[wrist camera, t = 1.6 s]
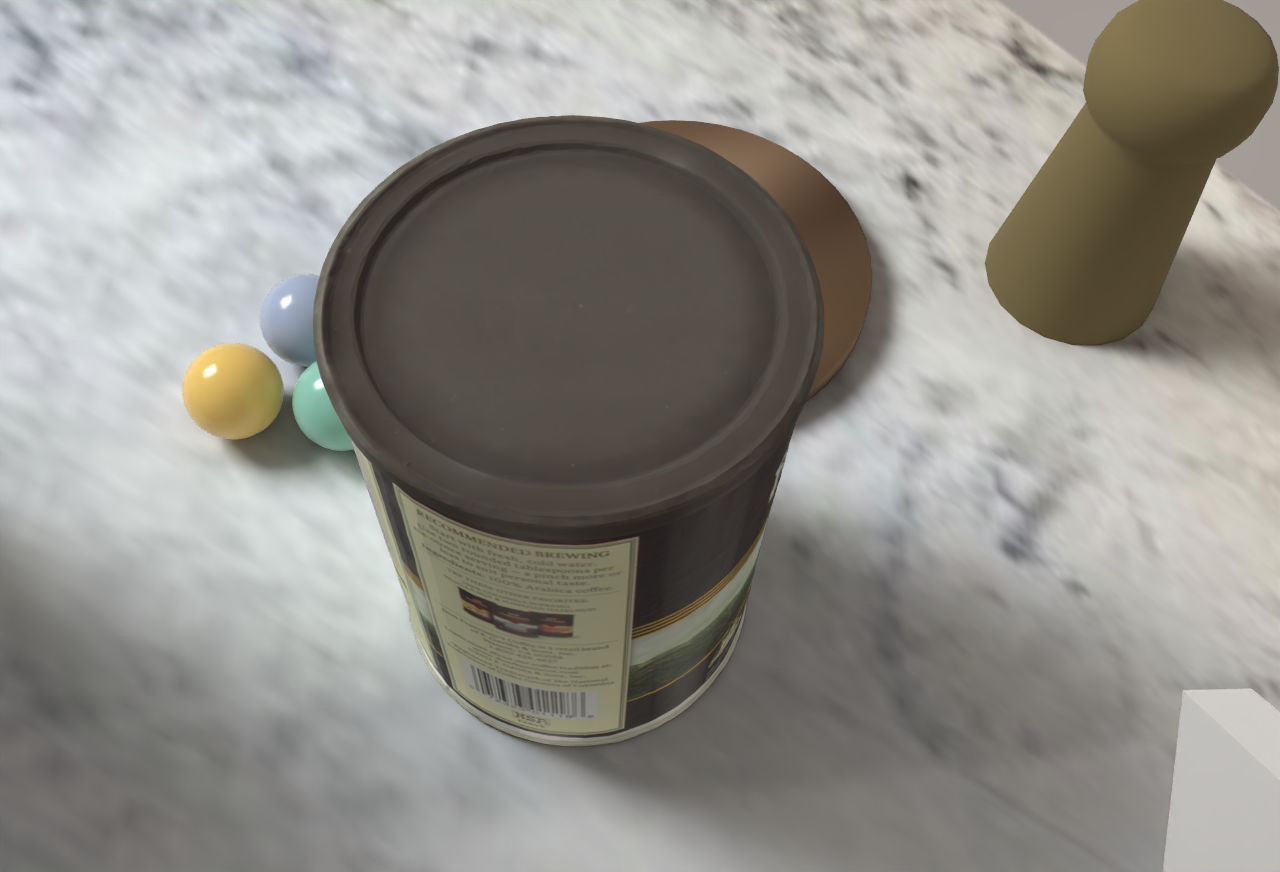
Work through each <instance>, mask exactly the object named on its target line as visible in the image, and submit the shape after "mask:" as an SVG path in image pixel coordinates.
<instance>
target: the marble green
mask: <svg viewBox="0 0 1280 872" xmlns="http://www.w3.org/2000/svg"><path fill="white" fill-rule="evenodd" d="M292 406H293V412H294V416H295V419H296V422H297V424H298V426H299V427H300V429H301V430H302V432H303V433H304V434H305V435H306V436H307V437H308V438H309V439H310V440H312V441H313V442H314V443H316V444H318V445H319V446H322V447H324V448H327V449H331V450H336V451H349V450H354V448H353V445H352V442H351V439H350V436H349V435H348V434H347V432H346V430H345V428H344V426H343V424H342V422H341V420H340V419H339V417H338V415H337V413H336V412H335V410H334V408H333V406H332V404H331V401H330V399H329V397H328V394H327V392H326V390H325V387H324V385H323V382H322V380H321V376H320V373H319V369H318V366H317V361H316V362H314V363H313V364H311V365H310V366H309V367H308V368H307V369H306V370H305V371H304V372H303V373H302V374H301V376H300V377H299V379H298V381H297V383H296V385H295V388H294V392H293V398H292Z"/></svg>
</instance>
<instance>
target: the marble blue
mask: <svg viewBox="0 0 1280 872" xmlns="http://www.w3.org/2000/svg"><path fill="white" fill-rule="evenodd" d="M319 277H320V276H319V275H315V274H299V275H294V276H291V277H288V278H286V279H284V280H282V281H281V282H279V283H278V284H277V285H275V286H274V287H273V288H272V289H271V290H270V292H269V293H268V294H267V296H266V298H265V300H264V302H263V305H262V308H261V313H260V326H261V330H262V334H263V337H264V339H265V341H266V343H267V344H268V346H269V347H270V349H271V350H272V351H273V352H274V353H275V354H276V355H277V356H279V357H280V358H281V359H283V360H285V361H286V362H289V363H291V364H294V365H297V366H302V367H309V366H310V365H311V364H313V363H314V362H316V355H315V350H314V343H313V310H314V299H315V295H316V289H317V284H318V281H319Z"/></svg>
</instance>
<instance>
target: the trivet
mask: <svg viewBox="0 0 1280 872" xmlns="http://www.w3.org/2000/svg"><path fill="white" fill-rule="evenodd" d="M640 124H644V125H648V126H651V127H655V128H657V129H660V130H664V131H667V132H671V133H674V134H676V135H679V136H681V137H684V138H686V139H689V140H691V141H693V142H696V143H698V144H701V145H703V146H705V147H707V148H708V149H710V150H712V151H714V152H715V153H717V154H719V155H720V156H722V157H723V158H725V159H726V160H728V161H730V162H731V163H733V164H734V165H736V166H737V167H739V168H740V169H742V170H743V171H745V172H746V173H747V174H748V175H750V176H751V177H752V178H753V179H754V180H756V181H757V182H758V183H759V184H760V185H761V186H763V187H764V188H765V189H766V190H767V192H768V193H769V194H770V195H771V196H772V197H773V198H774V199H775V200H776V201H777V203H778V204H779V205H780V206H781V207H782V208H783V210H784V211H785V212H786V213H787V215H788V216H789V217H790V219H791V220H792V221H793V223H794V224H795V226H796V228H797V230H798V232H799V234H800V236H801V237H802V239H803V241H804V242H805V244H806V246H807V248H808V251H809V253H810V256H811V259H812V261H813V264H814V267H815V270H816V273H817V276H818V279H819V283H820V287H821V293H822V297H823V304H824V340H823V348H822V353H821V358H820V362H819V367H818V370H817V373H816V376H815V379H814V382H813V385H812V388H811V390H810V393H809V395H808V398H807V400H806V401H808V400H809V399H810V398H812V397H813V396H814V395H815V394H816V393H818V392H819V391H820V390H821V389H822V388H824V387H825V386H826V385H827V384H828V383H829V382H830V380H831V379H832V378H833V377H834V376H835V375H836V374H837V373H838V371H839V370H840V369H841V368H842V366H843V365H844V363H845V361H846V360H847V358H848V357H849V355H850V354H851V352H852V350H853V348H854V345H855V343H856V341H857V339H858V336H859V334H860V331H861V328H862V325H863V322H864V319H865V316H866V312H867V309H868V305H869V301H870V297H871V284H872V270H871V259H870V254H869V250H868V246H867V242H866V238H865V236H864V233H863V231H862V229H861V226H860V224H859V222H858V219H857V218H856V216H855V214H854V213H853V211H852V209H851V208H850V206H849V204H848V203H847V201H846V200H845V199H844V198H843V196H842V195H841V194H840V193H839V192H838V190H837V189H836V188H835V187H834V186H833V185H832V184H831V183H830V182H829V181H828V180H827V179H826V178H825V177H824V176H823V175H822V174H821V173H820V172H819V171H818V170H816V169H815V168H814V167H812V166H811V165H810V164H809V163H807V162H806V161H805V160H803V159H802V158H800V157H799V156H797V155H795V154H794V153H792V152H790V151H789V150H787V149H785V148H784V147H782V146H780V145H777V144H775V143H773V142H771V141H769V140H767V139H765V138H762V137H760V136H757V135H754V134H751V133H748V132H745V131H742V130H739V129H735V128H731V127H726V126H722V125H718V124H711V123H704V122H697V121H676V120H671V121H651V122H644V123H640Z"/></svg>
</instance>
